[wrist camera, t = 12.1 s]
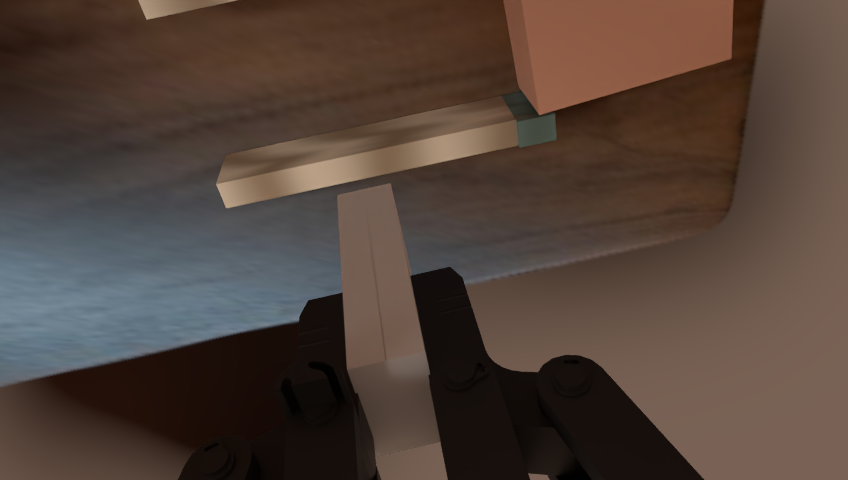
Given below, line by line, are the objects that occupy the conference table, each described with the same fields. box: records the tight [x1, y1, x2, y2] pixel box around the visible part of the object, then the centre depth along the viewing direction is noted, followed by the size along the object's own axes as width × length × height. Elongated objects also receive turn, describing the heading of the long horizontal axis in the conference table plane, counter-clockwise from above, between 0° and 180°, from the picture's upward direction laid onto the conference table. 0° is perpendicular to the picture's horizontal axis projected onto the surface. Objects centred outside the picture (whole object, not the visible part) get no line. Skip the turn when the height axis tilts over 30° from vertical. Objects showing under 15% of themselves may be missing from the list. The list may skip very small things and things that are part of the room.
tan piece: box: [138, 0, 557, 208], centre depth 31 cm, size 18×12×4 cm, turn 100°
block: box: [503, 0, 734, 115], centre depth 31 cm, size 10×7×4 cm
